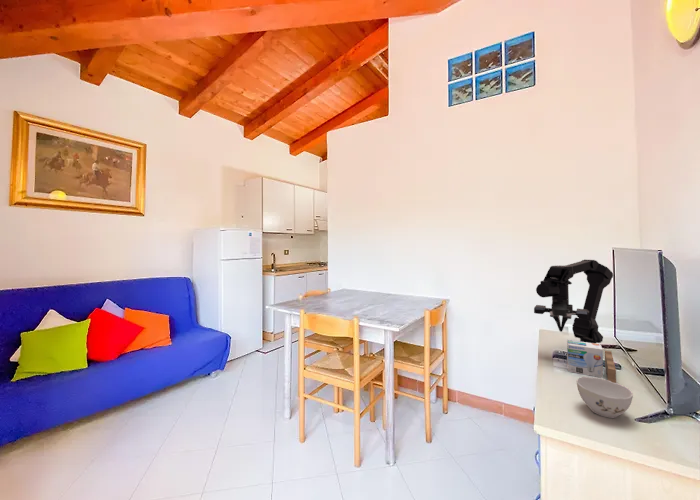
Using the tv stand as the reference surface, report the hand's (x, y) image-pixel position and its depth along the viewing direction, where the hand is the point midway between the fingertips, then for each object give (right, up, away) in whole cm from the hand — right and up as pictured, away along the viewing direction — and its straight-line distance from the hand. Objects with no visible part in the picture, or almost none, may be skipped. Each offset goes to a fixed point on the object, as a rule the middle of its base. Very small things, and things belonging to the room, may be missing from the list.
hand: (561, 331), depth 123 cm
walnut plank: (+7, -12, -15) cm, 21 cm away
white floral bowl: (-14, -14, -37) cm, 41 cm away
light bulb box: (+1, -13, -12) cm, 17 cm away
